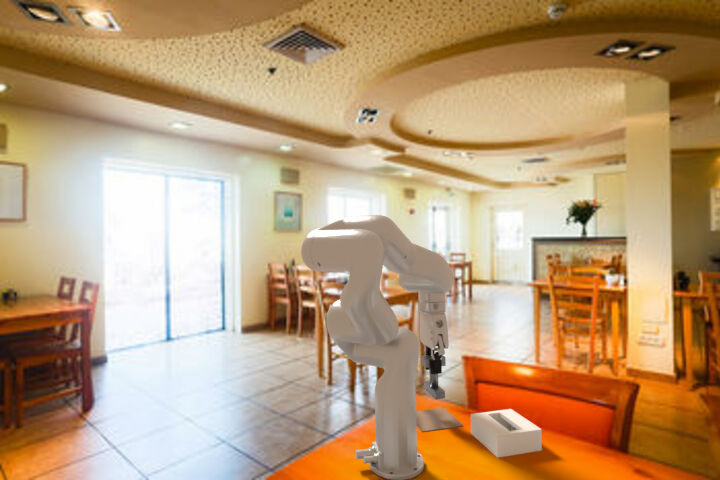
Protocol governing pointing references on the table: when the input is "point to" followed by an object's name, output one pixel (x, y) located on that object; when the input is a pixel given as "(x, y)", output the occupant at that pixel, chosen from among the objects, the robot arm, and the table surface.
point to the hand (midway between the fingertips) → (433, 370)
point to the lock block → (506, 432)
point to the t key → (433, 379)
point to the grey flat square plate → (436, 420)
